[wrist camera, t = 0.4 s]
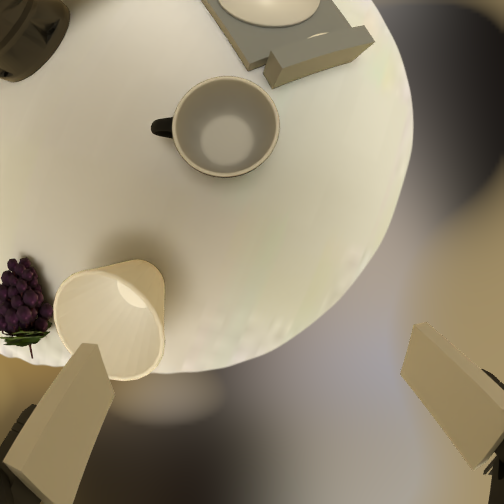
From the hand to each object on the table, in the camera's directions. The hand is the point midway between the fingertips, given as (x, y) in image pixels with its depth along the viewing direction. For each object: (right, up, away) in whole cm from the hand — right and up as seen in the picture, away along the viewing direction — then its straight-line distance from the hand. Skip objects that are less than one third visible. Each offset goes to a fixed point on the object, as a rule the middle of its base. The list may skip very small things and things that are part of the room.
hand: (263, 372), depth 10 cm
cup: (-15, 0, +25) cm, 29 cm away
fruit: (-34, -3, +24) cm, 41 cm away
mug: (-5, +18, +21) cm, 28 cm away
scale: (+3, +35, +17) cm, 39 cm away
